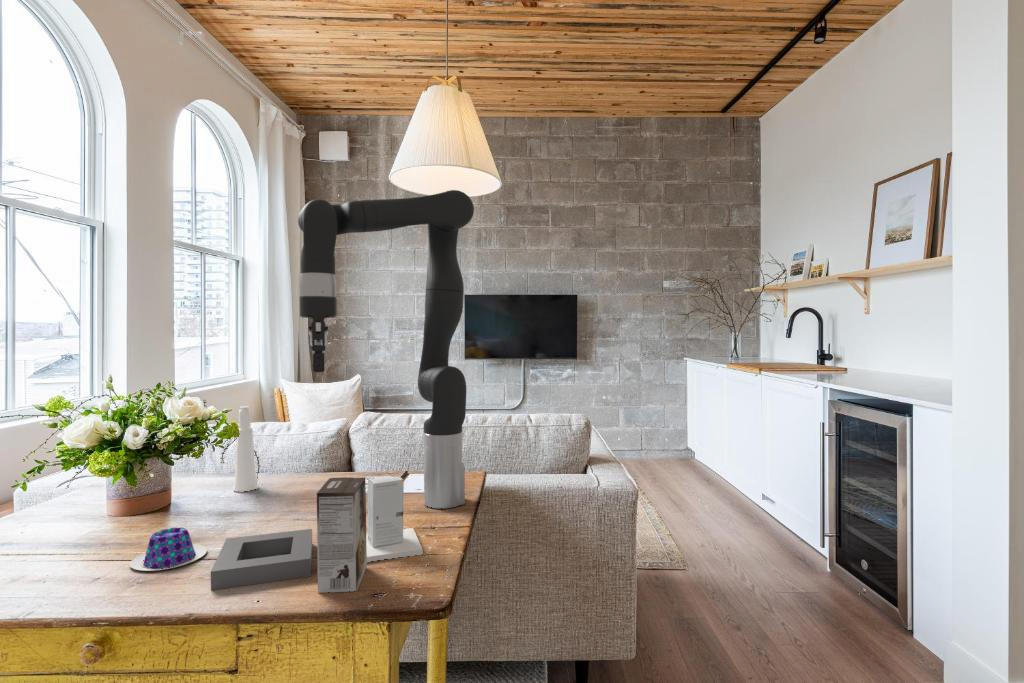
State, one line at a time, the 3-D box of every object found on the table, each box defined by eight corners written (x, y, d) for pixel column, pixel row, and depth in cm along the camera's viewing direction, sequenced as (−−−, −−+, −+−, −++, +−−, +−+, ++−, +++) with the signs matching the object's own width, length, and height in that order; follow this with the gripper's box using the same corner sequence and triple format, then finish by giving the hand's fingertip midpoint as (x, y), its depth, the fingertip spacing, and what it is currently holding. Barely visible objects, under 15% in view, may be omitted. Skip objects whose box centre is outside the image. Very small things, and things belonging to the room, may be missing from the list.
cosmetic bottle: (262, 488, 146) (261, 405, 145) (241, 493, 141) (240, 408, 140) (249, 484, 149) (248, 404, 149) (228, 490, 144) (226, 407, 144)
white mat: (412, 532, 112) (412, 527, 112) (422, 554, 101) (422, 549, 101) (352, 540, 109) (352, 535, 109) (355, 563, 97) (355, 558, 97)
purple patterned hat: (187, 543, 108) (187, 516, 108) (219, 556, 102) (219, 528, 102) (117, 564, 98) (117, 535, 98) (148, 581, 92) (148, 550, 92)
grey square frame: (312, 544, 107) (312, 528, 107) (310, 576, 92) (310, 558, 92) (226, 554, 102) (226, 538, 102) (210, 590, 88) (210, 571, 87)
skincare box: (373, 548, 102) (372, 483, 101) (366, 540, 106) (366, 478, 105) (405, 542, 105) (404, 479, 105) (397, 534, 109) (397, 474, 108)
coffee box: (330, 569, 95) (329, 477, 95) (367, 567, 96) (366, 476, 95) (315, 594, 86) (314, 492, 86) (357, 592, 87) (356, 491, 86)
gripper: (337, 293, 112) (338, 372, 112) (335, 298, 125) (336, 368, 125) (298, 292, 109) (298, 373, 110) (300, 297, 123) (301, 369, 123)
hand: (319, 370), depth 117 cm, fingers open, 8 cm apart
